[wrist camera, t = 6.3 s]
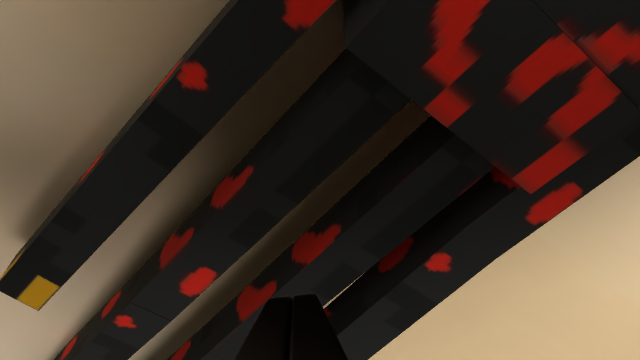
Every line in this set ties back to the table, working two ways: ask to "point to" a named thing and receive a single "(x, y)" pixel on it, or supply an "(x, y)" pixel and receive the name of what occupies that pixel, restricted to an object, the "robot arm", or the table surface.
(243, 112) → the table surface
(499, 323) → the table surface
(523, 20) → the toy
